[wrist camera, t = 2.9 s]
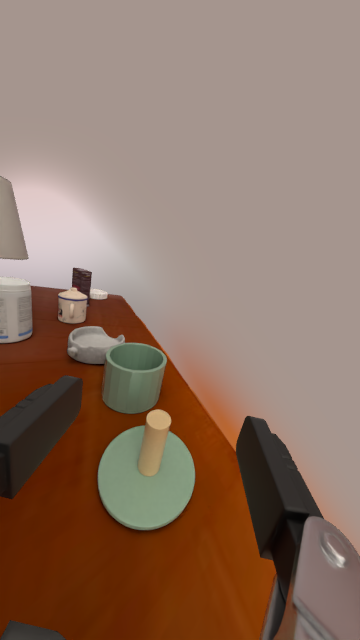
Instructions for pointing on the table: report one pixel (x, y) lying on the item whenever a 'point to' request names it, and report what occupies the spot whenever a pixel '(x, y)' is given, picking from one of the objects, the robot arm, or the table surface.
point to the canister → (133, 377)
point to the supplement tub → (15, 310)
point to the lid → (146, 475)
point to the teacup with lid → (72, 306)
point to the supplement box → (82, 281)
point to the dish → (91, 344)
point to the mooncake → (98, 294)
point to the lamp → (10, 225)
